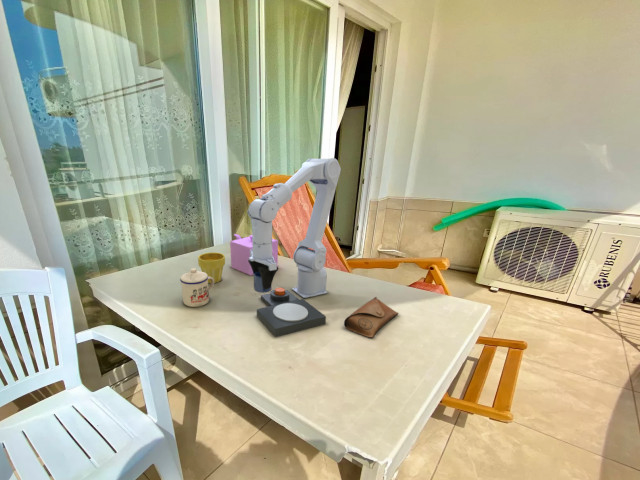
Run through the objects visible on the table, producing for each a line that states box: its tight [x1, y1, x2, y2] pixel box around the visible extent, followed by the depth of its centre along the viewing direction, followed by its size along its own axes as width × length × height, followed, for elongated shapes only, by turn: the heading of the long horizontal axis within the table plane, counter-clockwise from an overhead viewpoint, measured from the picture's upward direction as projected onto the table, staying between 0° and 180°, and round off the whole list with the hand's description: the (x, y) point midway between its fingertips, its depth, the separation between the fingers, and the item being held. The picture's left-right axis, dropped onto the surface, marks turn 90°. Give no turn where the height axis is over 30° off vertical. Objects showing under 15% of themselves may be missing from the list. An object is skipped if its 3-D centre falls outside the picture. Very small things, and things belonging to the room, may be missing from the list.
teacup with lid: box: [179, 267, 215, 308], centre depth 101 cm, size 12×9×12 cm
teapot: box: [229, 233, 279, 276], centre depth 129 cm, size 15×25×14 cm, turn 38°
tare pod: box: [260, 289, 300, 307], centre depth 100 cm, size 10×8×3 cm
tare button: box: [274, 287, 286, 295], centre depth 99 cm, size 3×3×2 cm
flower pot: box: [197, 251, 226, 284], centre depth 117 cm, size 10×10×10 cm
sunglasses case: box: [343, 296, 400, 338], centre depth 86 cm, size 18×7×7 cm
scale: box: [256, 298, 327, 338], centre depth 88 cm, size 16×12×3 cm
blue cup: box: [253, 271, 272, 294], centre depth 92 cm, size 5×5×5 cm
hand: (262, 284), depth 92 cm, fingers closed on blue cup, 5 cm apart
